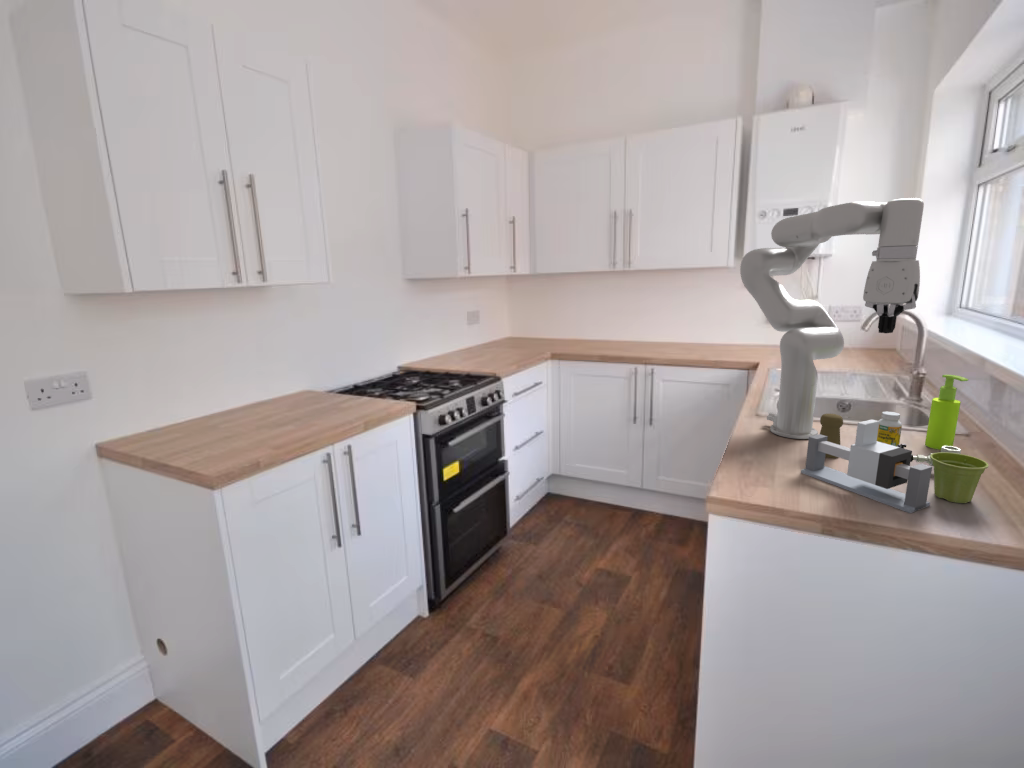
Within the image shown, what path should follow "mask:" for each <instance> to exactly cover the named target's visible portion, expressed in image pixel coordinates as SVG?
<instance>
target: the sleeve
mask: <svg viewBox="0 0 1024 768" xmlns="http://www.w3.org/2000/svg"><path fill="white" fill-rule="evenodd" d="M878 428H879V420H877V419H873V418H872V419H868V420H863V421H859V422H857V426H856V432H855V433H856V436H855V440H854V441H855V442H854V443H852V444H850V447H849V448H850V456H849V461H848V465H847V473H846V474H847V475H848V476H851V477H854V478H856V479H859V480H862V481H865V482H868V483H871V484H874V485H875V482H876V475H877V468H878V461H879V455H880V453H882V452H886V451H889V450H893V449H896V448H900V447H896V446H893V445H889V444H885V443H882V442H878V441H877V435H878Z"/></svg>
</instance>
